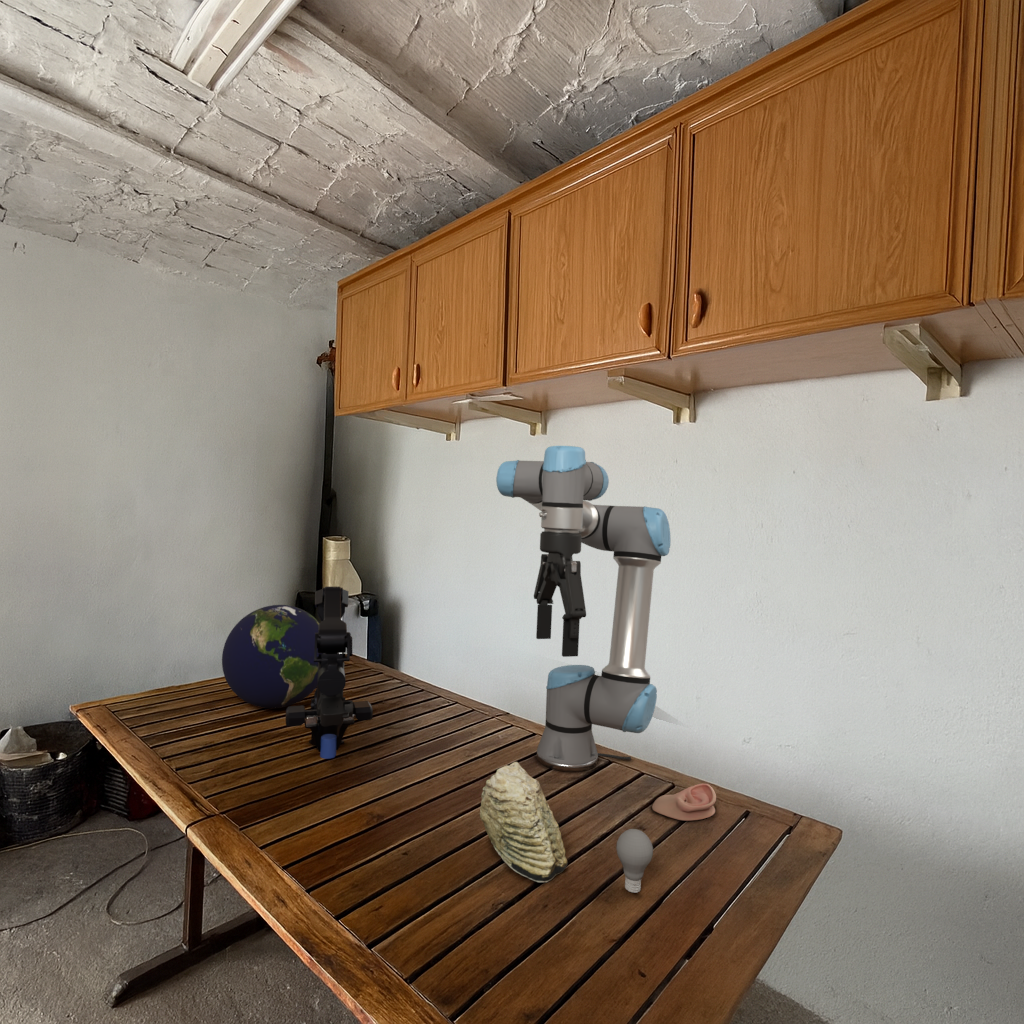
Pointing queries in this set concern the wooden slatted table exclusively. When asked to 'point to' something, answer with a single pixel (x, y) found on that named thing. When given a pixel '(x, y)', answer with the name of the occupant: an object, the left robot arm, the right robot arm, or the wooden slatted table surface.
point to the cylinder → (328, 746)
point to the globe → (272, 656)
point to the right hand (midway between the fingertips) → (555, 647)
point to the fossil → (522, 824)
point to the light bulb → (634, 857)
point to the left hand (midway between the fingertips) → (328, 750)
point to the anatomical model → (687, 803)
